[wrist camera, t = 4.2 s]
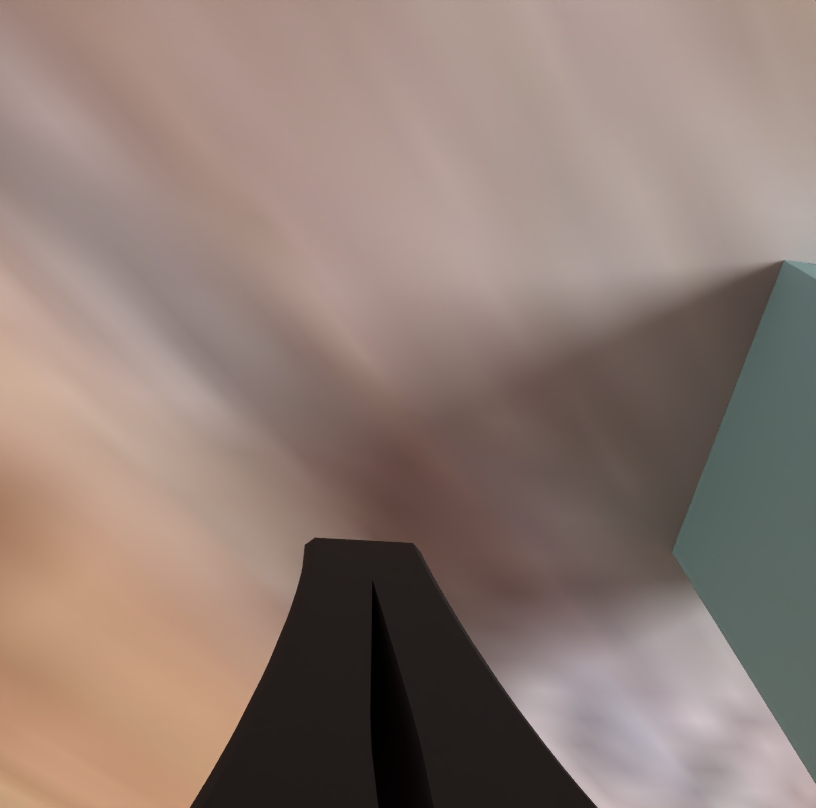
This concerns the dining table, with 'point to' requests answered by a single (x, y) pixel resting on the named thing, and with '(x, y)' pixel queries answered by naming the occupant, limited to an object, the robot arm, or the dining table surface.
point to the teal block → (766, 513)
